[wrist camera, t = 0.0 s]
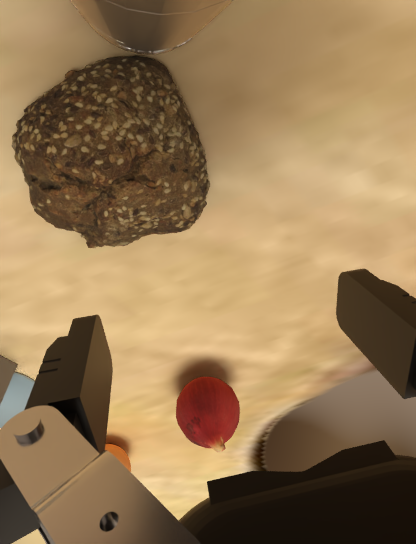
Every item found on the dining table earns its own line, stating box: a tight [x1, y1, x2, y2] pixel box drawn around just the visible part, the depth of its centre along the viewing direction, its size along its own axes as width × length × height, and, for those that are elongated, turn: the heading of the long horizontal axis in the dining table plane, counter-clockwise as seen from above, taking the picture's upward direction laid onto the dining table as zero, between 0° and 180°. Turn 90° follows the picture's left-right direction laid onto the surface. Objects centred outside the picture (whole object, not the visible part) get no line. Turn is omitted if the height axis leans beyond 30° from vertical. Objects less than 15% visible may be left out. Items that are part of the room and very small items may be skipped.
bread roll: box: [12, 56, 210, 248], centre depth 24 cm, size 13×12×5 cm
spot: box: [0, 372, 35, 428], centre depth 33 cm, size 7×7×1 cm
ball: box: [105, 444, 131, 472], centre depth 36 cm, size 5×5×5 cm
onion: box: [176, 377, 240, 452], centre depth 33 cm, size 6×6×8 cm
